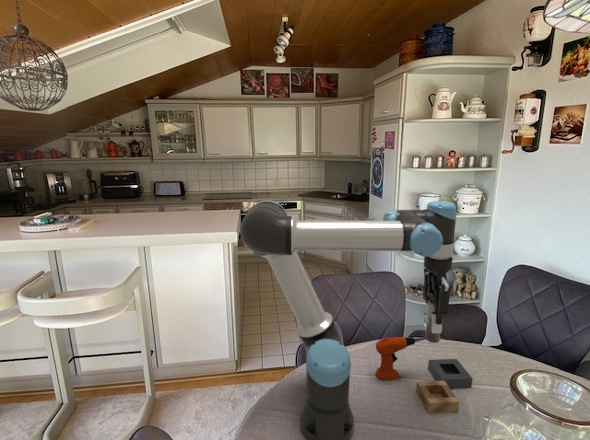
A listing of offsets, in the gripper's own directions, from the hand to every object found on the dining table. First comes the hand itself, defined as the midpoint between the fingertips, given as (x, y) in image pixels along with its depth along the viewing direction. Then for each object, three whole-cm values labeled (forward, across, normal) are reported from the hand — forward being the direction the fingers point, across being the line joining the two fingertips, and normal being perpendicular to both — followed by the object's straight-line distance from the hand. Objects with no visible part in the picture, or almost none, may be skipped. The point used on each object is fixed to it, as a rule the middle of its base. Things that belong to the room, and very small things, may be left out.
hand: (433, 328), depth 103 cm
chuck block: (+23, +6, -9) cm, 26 cm away
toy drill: (+23, +8, +7) cm, 25 cm away
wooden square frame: (+23, -4, -1) cm, 23 cm away
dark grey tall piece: (+4, 0, 0) cm, 4 cm away
